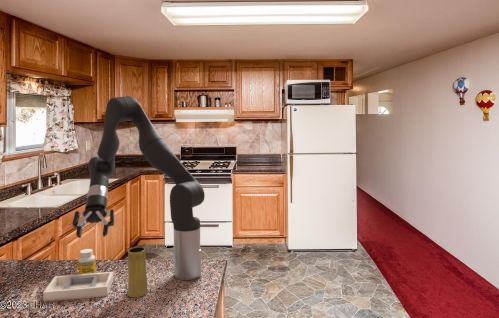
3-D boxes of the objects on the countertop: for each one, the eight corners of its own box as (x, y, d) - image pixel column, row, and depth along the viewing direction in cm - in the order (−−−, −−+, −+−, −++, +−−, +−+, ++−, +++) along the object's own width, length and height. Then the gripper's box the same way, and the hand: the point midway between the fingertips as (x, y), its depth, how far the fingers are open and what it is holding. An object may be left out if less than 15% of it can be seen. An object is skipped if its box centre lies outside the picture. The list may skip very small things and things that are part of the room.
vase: (151, 290, 111) (150, 247, 109) (139, 299, 105) (138, 254, 103) (135, 287, 113) (134, 245, 111) (123, 295, 107) (122, 251, 105)
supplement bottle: (94, 272, 123) (93, 246, 122) (97, 278, 119) (96, 251, 118) (78, 276, 120) (76, 249, 119) (80, 282, 116) (79, 254, 115)
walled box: (113, 280, 117) (113, 271, 117) (107, 295, 107) (107, 286, 106) (55, 285, 113) (55, 276, 113) (43, 302, 103) (43, 292, 102)
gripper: (75, 194, 132) (68, 232, 122) (114, 193, 135) (110, 230, 125) (79, 204, 137) (73, 242, 127) (117, 203, 140) (113, 239, 130)
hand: (91, 236), depth 126 cm, fingers open, 8 cm apart
